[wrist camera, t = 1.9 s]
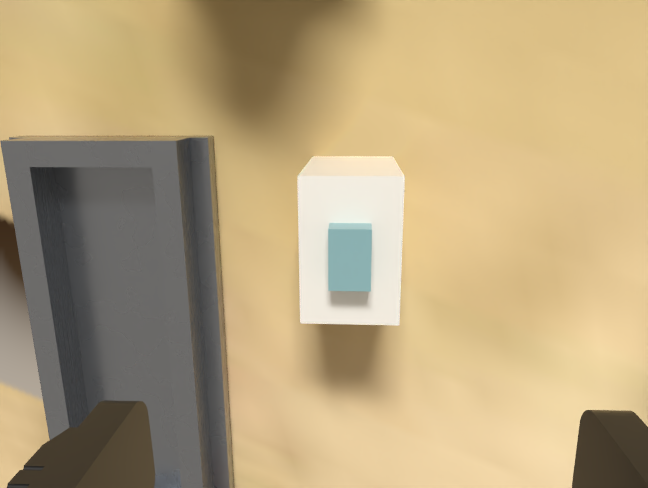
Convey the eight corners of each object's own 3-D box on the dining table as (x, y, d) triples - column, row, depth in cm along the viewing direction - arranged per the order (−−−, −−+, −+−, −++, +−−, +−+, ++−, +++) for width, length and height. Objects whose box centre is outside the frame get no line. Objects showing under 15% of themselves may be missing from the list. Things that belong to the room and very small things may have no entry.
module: (312, 156, 27) (294, 180, 19) (392, 156, 26) (407, 180, 19) (313, 269, 28) (297, 333, 21) (389, 270, 28) (401, 336, 20)
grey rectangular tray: (21, 136, 27) (-19, 140, 24) (213, 135, 27) (195, 140, 24) (76, 494, 33) (49, 532, 30) (235, 501, 33) (222, 540, 30)
